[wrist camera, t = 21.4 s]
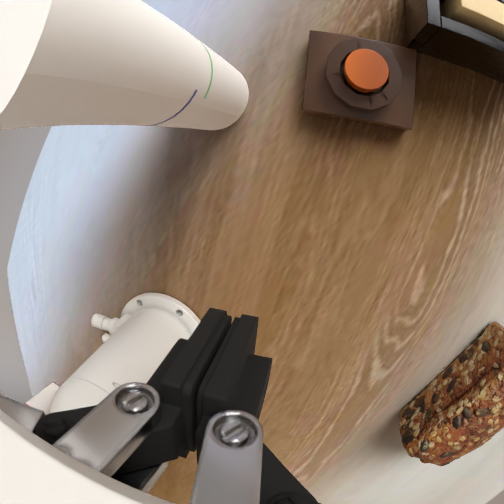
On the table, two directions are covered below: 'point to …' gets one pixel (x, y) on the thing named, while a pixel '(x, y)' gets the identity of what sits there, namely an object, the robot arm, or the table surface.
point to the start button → (365, 70)
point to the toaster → (452, 39)
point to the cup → (43, 398)
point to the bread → (459, 404)
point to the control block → (348, 99)
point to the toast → (477, 15)
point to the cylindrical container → (110, 68)
